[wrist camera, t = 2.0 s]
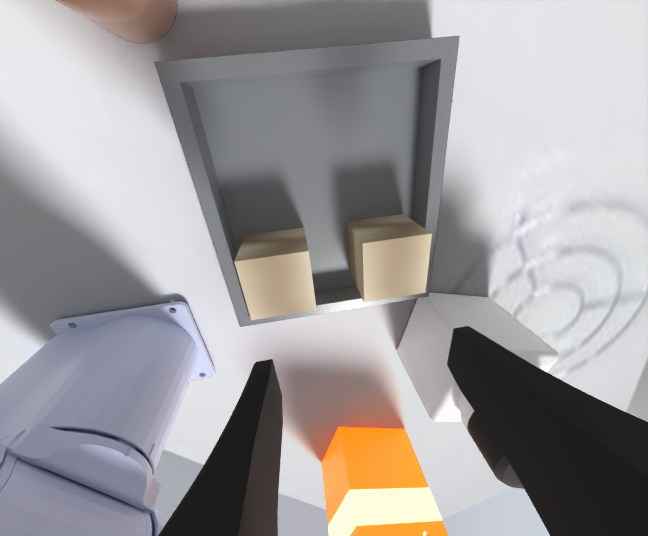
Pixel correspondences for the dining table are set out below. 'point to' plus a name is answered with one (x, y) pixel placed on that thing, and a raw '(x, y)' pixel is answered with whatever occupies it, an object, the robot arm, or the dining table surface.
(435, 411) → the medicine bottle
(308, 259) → the birch block
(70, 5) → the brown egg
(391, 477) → the orange juice
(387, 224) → the birch block
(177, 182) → the dining table surface
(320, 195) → the tray
